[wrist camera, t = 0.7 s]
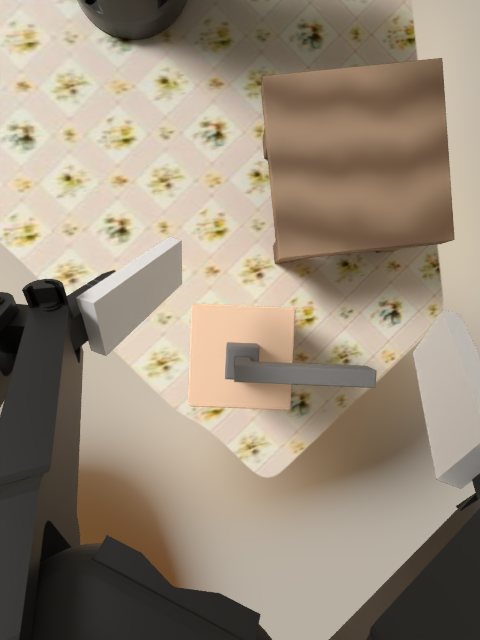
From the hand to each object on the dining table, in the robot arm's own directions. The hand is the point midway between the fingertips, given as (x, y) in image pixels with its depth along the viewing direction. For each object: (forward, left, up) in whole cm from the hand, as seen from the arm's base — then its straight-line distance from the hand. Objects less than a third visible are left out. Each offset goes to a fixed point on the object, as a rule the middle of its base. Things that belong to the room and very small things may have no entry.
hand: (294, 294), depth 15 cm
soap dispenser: (+5, -1, -25) cm, 26 cm away
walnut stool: (-13, +11, -25) cm, 30 cm away
